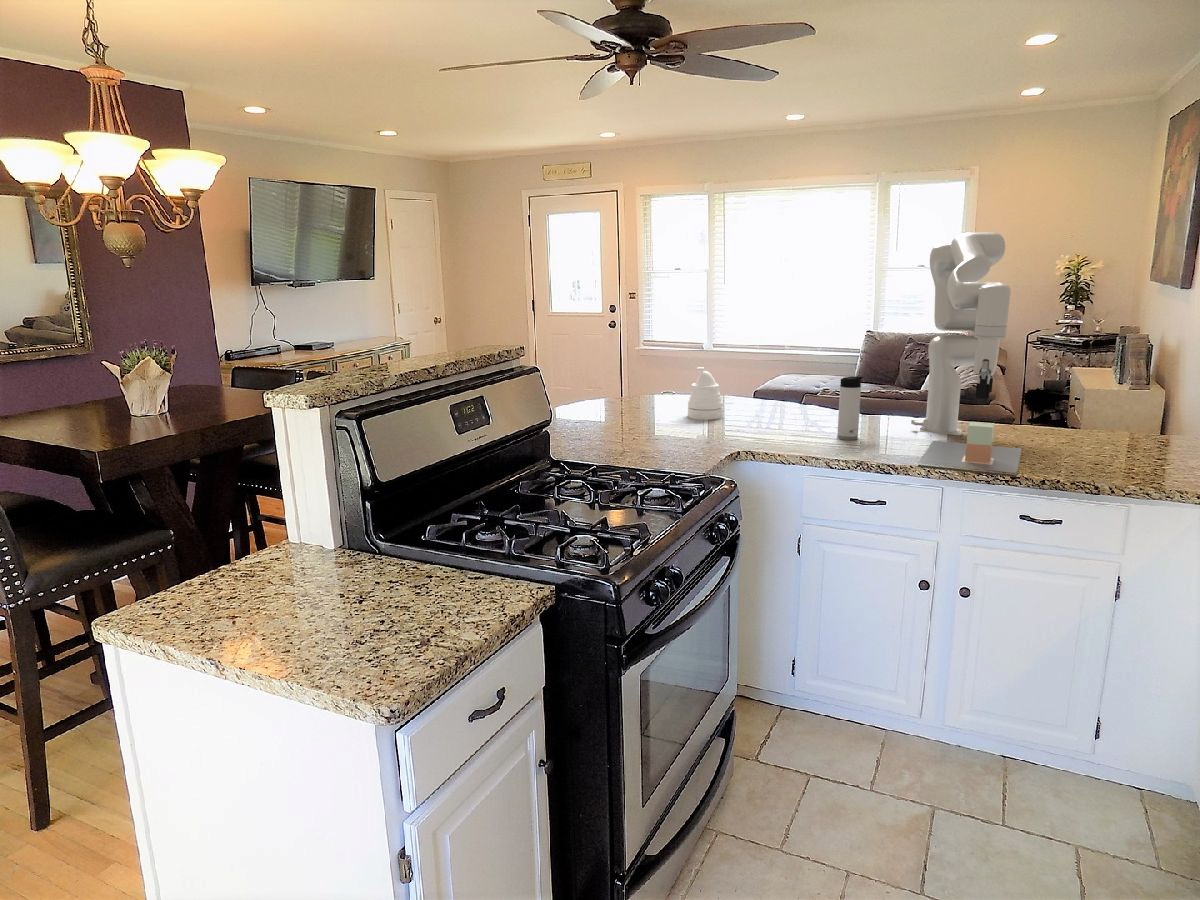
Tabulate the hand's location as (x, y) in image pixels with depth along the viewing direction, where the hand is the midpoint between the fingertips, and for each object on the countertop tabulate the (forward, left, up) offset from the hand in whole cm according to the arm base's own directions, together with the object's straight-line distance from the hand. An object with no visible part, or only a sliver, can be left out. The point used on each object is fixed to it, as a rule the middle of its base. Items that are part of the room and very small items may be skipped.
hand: (983, 395), depth 213 cm
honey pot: (-94, +32, -20) cm, 101 cm away
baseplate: (-2, +4, -19) cm, 20 cm away
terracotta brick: (0, -1, -18) cm, 18 cm away
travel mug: (-39, +17, -19) cm, 47 cm away
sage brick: (0, -1, -13) cm, 13 cm away
